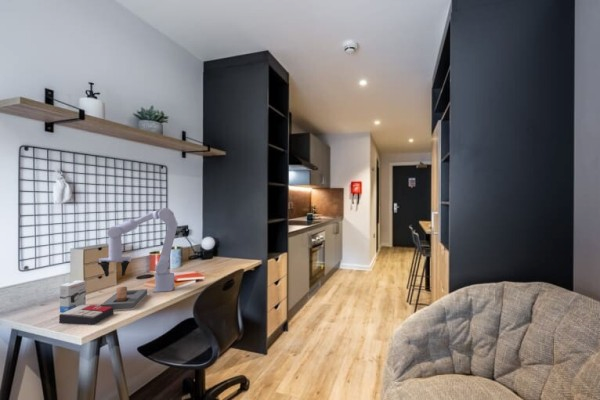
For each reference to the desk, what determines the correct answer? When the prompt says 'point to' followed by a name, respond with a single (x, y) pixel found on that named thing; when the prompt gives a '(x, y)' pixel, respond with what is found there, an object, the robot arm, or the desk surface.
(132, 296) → the board
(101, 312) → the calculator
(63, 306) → the ink box
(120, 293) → the peg
